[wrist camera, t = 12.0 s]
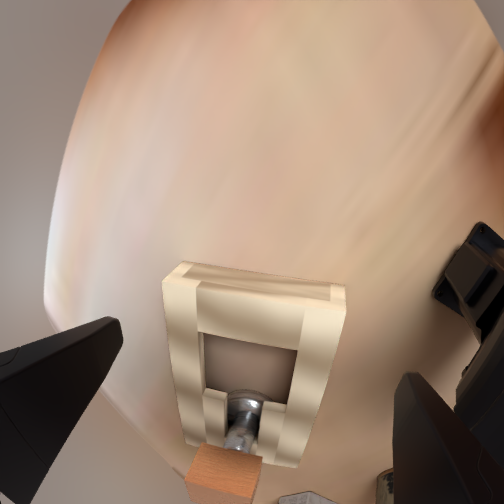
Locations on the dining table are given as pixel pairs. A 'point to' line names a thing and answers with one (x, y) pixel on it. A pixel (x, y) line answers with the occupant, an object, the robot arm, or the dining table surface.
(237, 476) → the wooden block metal peg
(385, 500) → the mug
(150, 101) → the dining table surface
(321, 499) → the coffee box
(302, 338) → the keyhole box
